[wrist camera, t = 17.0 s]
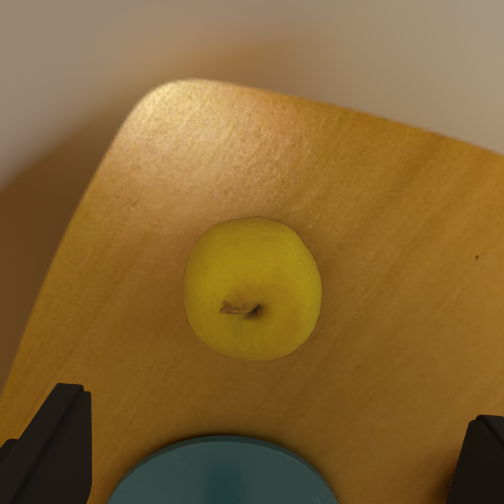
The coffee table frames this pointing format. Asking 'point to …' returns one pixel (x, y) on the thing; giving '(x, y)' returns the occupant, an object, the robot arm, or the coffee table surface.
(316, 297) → the apple
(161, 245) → the coffee table surface
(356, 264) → the coffee table surface
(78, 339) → the coffee table surface
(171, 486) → the lid
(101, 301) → the coffee table surface
